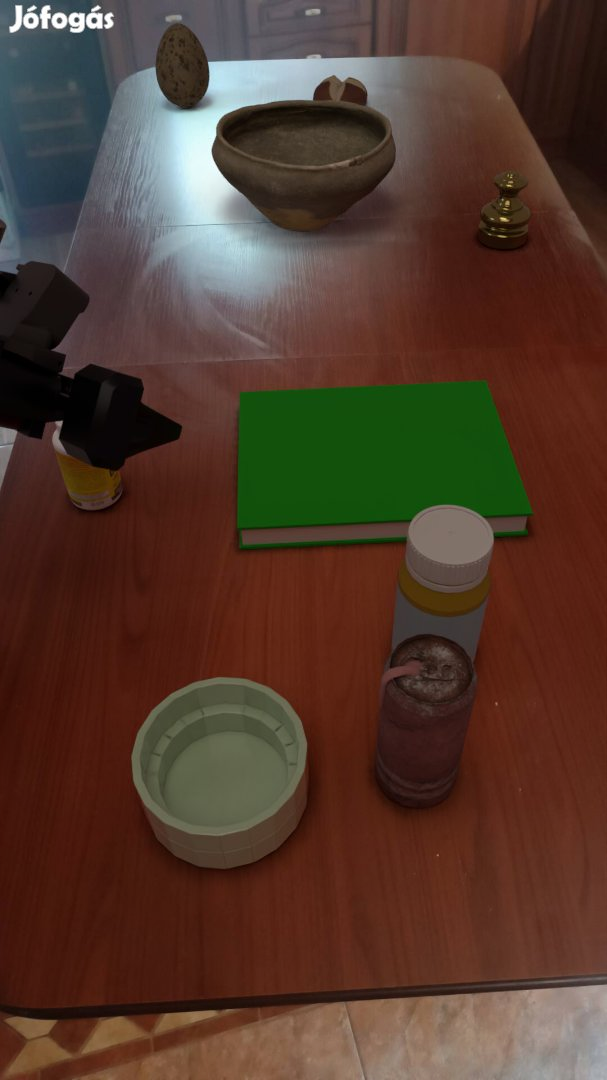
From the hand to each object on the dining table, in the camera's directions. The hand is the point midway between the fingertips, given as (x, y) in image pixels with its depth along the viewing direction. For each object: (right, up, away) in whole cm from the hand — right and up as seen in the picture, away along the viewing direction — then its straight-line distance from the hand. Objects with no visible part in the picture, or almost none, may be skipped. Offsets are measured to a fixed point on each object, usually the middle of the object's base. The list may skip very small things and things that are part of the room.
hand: (145, 419), depth 63 cm
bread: (+20, +80, +102) cm, 131 cm away
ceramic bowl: (+7, -28, -3) cm, 29 cm away
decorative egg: (-12, +81, +104) cm, 132 cm away
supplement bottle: (-9, -5, +21) cm, 23 cm away
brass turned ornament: (+43, +36, +59) cm, 81 cm away
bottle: (+23, -20, +6) cm, 31 cm away
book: (+20, -2, +23) cm, 30 cm away
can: (+21, -27, -2) cm, 34 cm away
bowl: (+13, +43, +66) cm, 80 cm away
